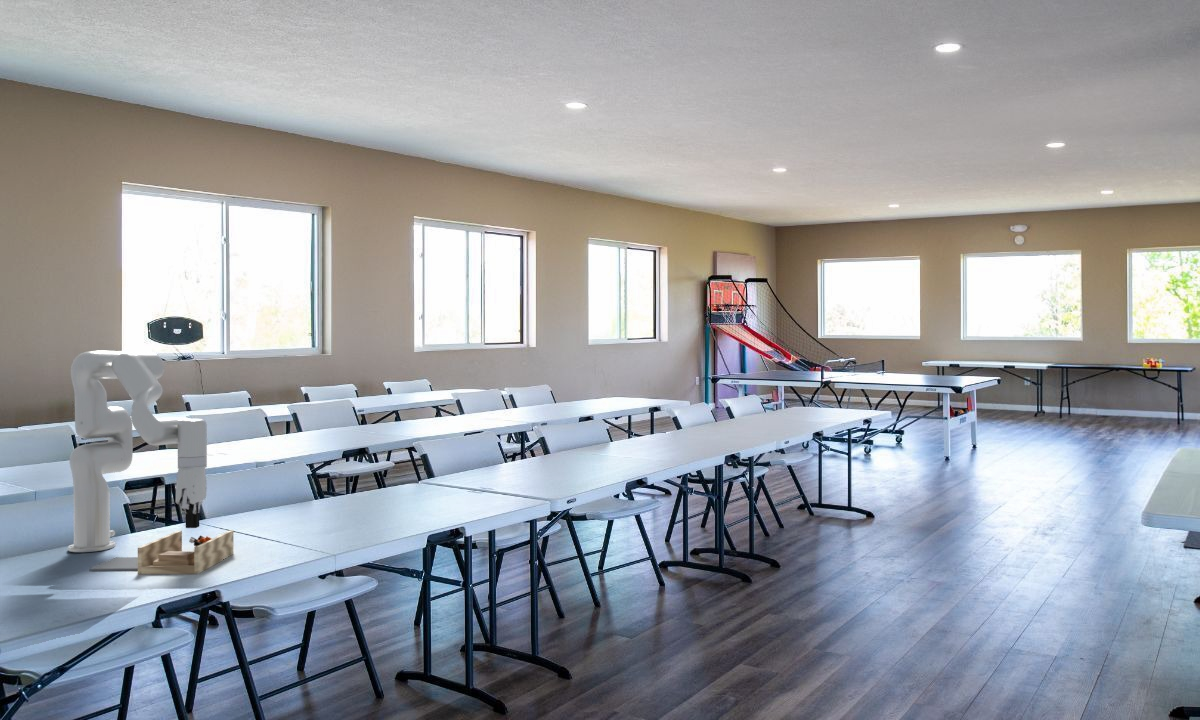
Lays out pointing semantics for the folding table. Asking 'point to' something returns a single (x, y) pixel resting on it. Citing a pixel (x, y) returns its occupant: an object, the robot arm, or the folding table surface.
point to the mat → (118, 564)
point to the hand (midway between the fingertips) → (192, 527)
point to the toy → (199, 540)
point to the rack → (203, 553)
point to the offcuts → (175, 558)
